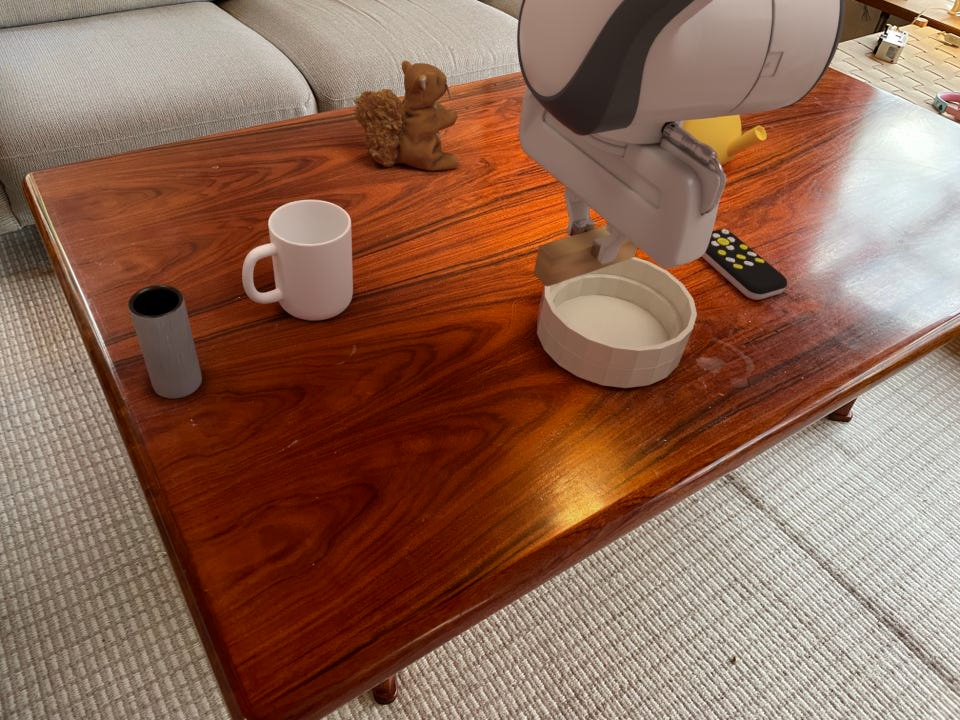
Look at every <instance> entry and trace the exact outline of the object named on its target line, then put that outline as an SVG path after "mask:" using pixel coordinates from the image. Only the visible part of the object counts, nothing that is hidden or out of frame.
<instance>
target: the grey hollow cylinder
mask: <svg viewBox="0 0 960 720" xmlns="http://www.w3.org/2000/svg"><path fill="white" fill-rule="evenodd" d="M127 308H128V311H129V315H130V318H131V321H132V325H133V327H134V331H135V334H136V339H137V341H138V344H139V348H140V351H141V354H142V357H143V361H144V364H145V367H146V370H147V373H148V377H149V380H150V383H151V386H152V389H153V391H154V393H156V394H157V395H158V396H160V397H162V398H165V399H180V398H181V399H182V398H186V397H188V396H190V395H191V394H193V393H195V392H196V391H197V390H198V389H199V388H200V386H201V384H202V382H203V375H202V371H201V365H200V361H199V358H198V353H197V350H196V345H195V340H194V336H193V332H192V328H191V324H190V320H189V315H188V310H187V305H186V302H185V297H184V295H183V292H182V291H181V290H179V289H178V288H176V287H174V286H171V285H168V284H166V285H165V284H153V285H149V286H145V287H143V288H140V289H139V290H137V291H135V292H134V293H133V294H132V295H131V296H130V297H129V300H128V302H127Z"/></svg>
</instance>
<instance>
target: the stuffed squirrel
mask: <svg viewBox="0 0 960 720" xmlns="http://www.w3.org/2000/svg"><path fill="white" fill-rule="evenodd" d="M401 70H402V73H403V86H404V97H403V99H402V100H400V98H399V97H398V96H397V94H395V93H394V91H393V90H392V89H389V88H383V89H381V90H378V91H374V90H363V92H361V93H360V96H359V97H356V98H353V99H352V101H353V102H354V105H355V106H356V107H355V108H354V109H353V111H354V116H355V119H356V122H357V123H359V125H361V127H362V128H363V129H364V133H363V135H364V144H365V146H366V147H367V151H368V153H369V156H370V157H371V158H372V159H373V160H374V162H376V163H377V164H379V165H382V166H383V167H385V168H390V167H393V166H395V165H396V164H405V165H407V166H409V167H413V168H416V169H419V170H424V171H429V172H430V171H431V172H435V171H447V170H454V169H457V168H458V167H459V165H460V160H459V157H458V156H457V155H455V154H454V153H451V152H447V151H446V152H443V151H442V138H441V133H440V131H441V130H444V129H448V128H451V127H453V126H454V125H455V124H456V122H457V120H458V118H459V117H458V112H457V111H456V110H454V108H448V109H446V107H445V106H444V105H443V104H442V103H440V102H438V101H439V100H440V99H442V98H443V96H444V95H445V94H446V92H447V94H448V98H449V100H451V98H453V95H452V94H451V90H450V87H449V85H448V80H447V76H446V74H445V72H443V71H442V70H441V69H440V68H438V67H436V66H435V65H432V64H429V63H425V62H417V63H416V62H415V63H413V64H412V63H411V62H410V61H408V60H403V61H402V62H401Z"/></svg>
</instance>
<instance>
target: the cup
mask: <svg viewBox="0 0 960 720" xmlns="http://www.w3.org/2000/svg"><path fill="white" fill-rule="evenodd" d="M267 226H268V234H269V235H268V236H269V242H270V243H269V242H268V243H265V244H262V245H259V246H255V247H254V248H253V249H251V250H250V251H249V252H248V253H247V255H246V256H245V258H244V261H243V265H242V271H241V276H242V277H241V280H242V286H243V289H244V292H245V294H246V295H247V297H248V299H250V300H252V301H253V302H254V303H257V304H261V305H262V304H263V305H266V304H267V305H268V304H274V303H277V302H278V303H279V305H280V306H281V308H282V309H283V310H284V311H285V312H286V313H287V314H289V315H290V316H292V317H294V318H296V319H301V320H305V321H324V320H328V319H332V318H334V317H336V316H338V315H340V314H342V313H343V312H344V311H345V310H346V309H347V308H348V307H349V306H350V303H351V302H352V300H353V295H354V294H353V293H354V279H353V243H352V242H353V241H352V240H353V239H352V237H353V236H352V219H351V216H350V215H349V213H348V212H347V211H346V210H345V209H344V208H342V207H341V206H339V205H337V204H335V203H333V202H330V201H325V200H320V199H302V200H295V201H291V202H287V203H285V204H283V205H281V206H279V207H277V208H276V209H275V210H274V211H272V213H271V214H270V215H269V218H268V222H267ZM269 257H271V258H272V259H271V260H272V268H273V275H274V285H275V289H273V290H269V291H267V292H260V291H258V290H257V289H256V286H255V283H254V270H255V266H256V264H257V262H259V260H261V259H264V258H269Z"/></svg>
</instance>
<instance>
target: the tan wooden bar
mask: <svg viewBox="0 0 960 720" xmlns="http://www.w3.org/2000/svg"><path fill="white" fill-rule="evenodd" d="M606 227H607V224H606V225H603V226H600V227H596V228H594V229H593V230H589V231H586V232H583V233H579V234H576V235H573V236H567V237H563V238H560V239H556V240H553V241H549V242H547V243H543V244H541V245H540V244H539V246H538V249H537V254H536V260H535V265H534V270H533V275H534V276H535V277H536V278H537V279H538V280H539V281H540V282H541V283H542V284H543V286H544V285H545V286H546V287H548V286H551V285H554V284H557V283H560V282H563V281H566V280H569V279H572V278H575V277H578V276H581V275H583V274H586V273H589V272H592V271H595V270H598V269H601V268H604V267H607V266H610V265H613V264H616V263H619V262H622V261H625V260H628V259H631V258H634V257H636V254H637V250H638V249H639V248H638V247H637V246H636V245H635V244H634V243H632V242H631V241H630V240H629V239H628V240H626V241H625V242H624V243H622V244H620V247H619V251H618V254H617V257H616V259H615V260H614V261H612V262H610V263H607V264H604V265H603V264H601V263H600V262H599V261H597V260H596V259H595V258H594V257H593V256H592V255H591V250H592V249H593V248H592V244H593V241H594V239H597V238H603V237H604V236H606V235H609V234H610V233H609V232H607V230H606Z"/></svg>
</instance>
